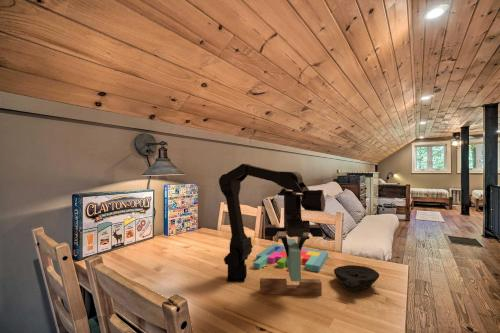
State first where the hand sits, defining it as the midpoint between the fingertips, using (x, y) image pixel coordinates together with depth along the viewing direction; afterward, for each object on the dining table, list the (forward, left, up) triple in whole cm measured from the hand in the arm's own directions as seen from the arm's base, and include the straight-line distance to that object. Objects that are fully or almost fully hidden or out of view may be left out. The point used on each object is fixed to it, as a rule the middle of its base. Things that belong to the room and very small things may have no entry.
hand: (292, 256), depth 80 cm
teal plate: (0, 0, -5) cm, 5 cm away
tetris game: (+2, +28, -13) cm, 31 cm away
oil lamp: (+22, +5, -12) cm, 25 cm away
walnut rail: (-1, 0, -12) cm, 12 cm away
